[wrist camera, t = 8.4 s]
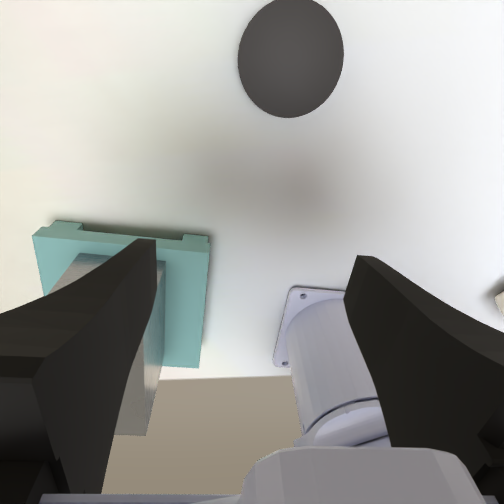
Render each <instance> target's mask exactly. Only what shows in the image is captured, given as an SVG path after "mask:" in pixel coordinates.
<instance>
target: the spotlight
mask: <svg viewBox="0 0 504 504" xmlns="http://www.w3.org/2000/svg"><path fill="white" fill-rule="evenodd" d="M495 301H496V304H497V306H498V308H499V310H500V311H501V313H502V314H503V316H504V291H503V292H502V293H500V294H498V295H497V296H496V297H495Z"/></svg>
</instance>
